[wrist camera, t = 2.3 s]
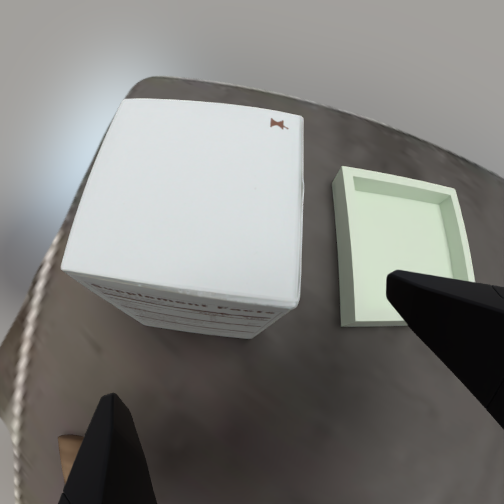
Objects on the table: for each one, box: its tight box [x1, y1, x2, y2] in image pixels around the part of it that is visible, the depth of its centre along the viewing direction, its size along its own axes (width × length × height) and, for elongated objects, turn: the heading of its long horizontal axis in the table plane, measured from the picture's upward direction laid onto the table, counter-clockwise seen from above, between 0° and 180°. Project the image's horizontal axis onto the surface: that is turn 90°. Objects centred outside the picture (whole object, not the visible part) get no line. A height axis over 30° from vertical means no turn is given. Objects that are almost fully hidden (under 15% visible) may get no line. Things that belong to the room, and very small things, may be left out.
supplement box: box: [61, 99, 304, 339], centre depth 15 cm, size 7×7×13 cm
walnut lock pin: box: [58, 435, 84, 484], centre depth 14 cm, size 6×2×2 cm
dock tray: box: [332, 166, 475, 327], centre depth 23 cm, size 12×12×2 cm
